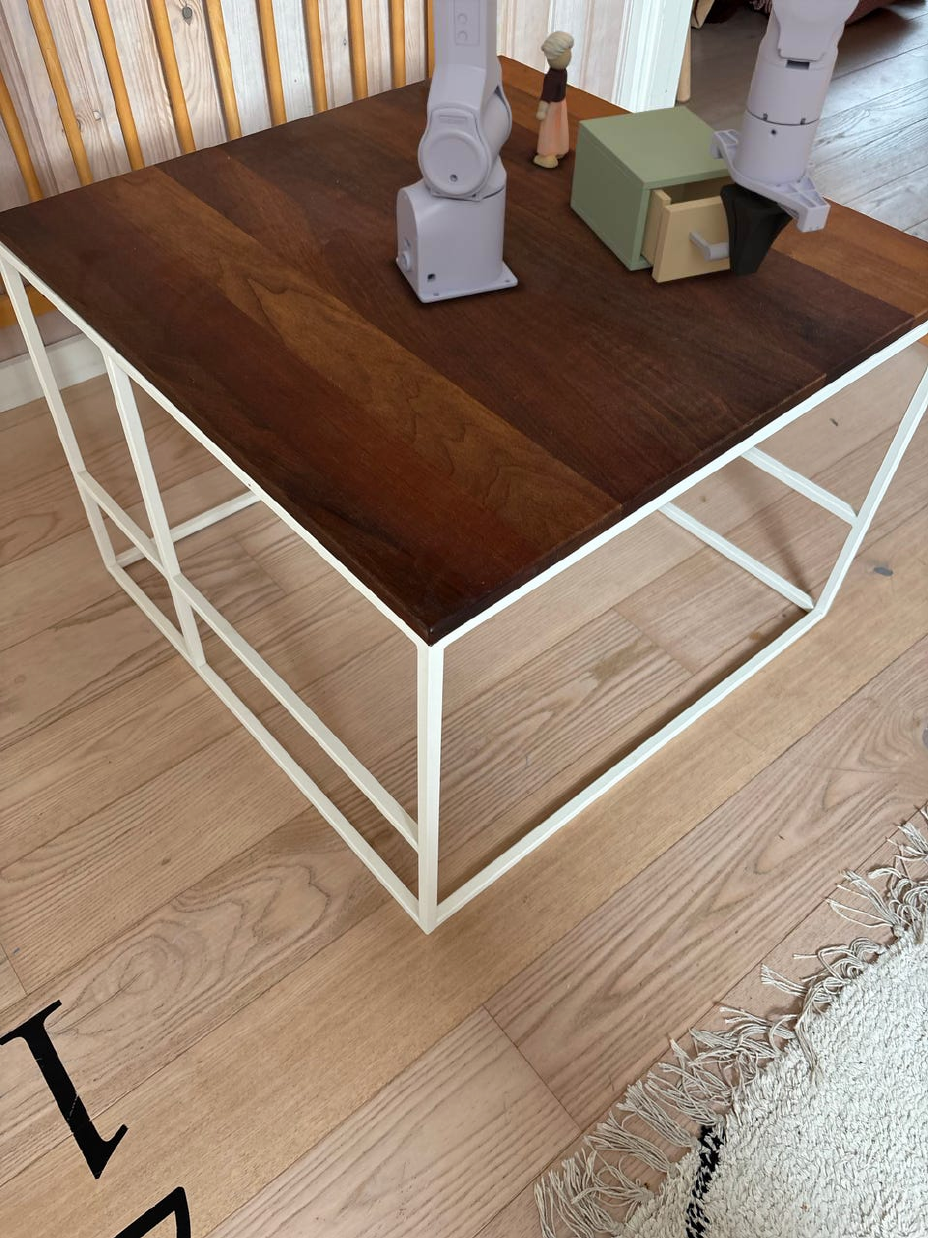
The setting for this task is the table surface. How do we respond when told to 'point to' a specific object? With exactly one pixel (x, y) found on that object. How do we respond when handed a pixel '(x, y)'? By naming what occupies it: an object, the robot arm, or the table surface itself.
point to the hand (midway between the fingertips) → (743, 270)
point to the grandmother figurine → (554, 101)
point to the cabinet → (636, 171)
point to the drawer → (686, 230)
